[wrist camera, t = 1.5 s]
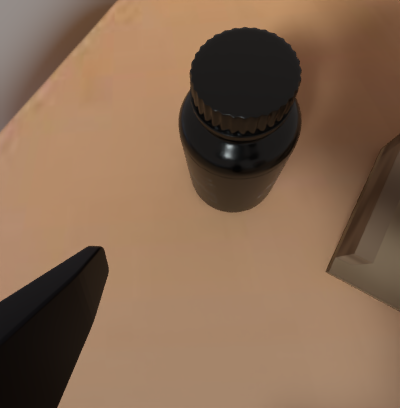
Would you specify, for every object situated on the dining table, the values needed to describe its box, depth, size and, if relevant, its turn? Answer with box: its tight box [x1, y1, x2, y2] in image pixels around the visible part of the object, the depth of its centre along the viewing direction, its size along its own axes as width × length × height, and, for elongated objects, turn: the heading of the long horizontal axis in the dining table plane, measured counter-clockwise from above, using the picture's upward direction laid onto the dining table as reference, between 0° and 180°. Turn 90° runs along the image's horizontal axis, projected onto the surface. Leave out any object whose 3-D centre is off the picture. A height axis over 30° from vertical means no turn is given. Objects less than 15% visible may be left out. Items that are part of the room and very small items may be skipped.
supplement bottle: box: [179, 27, 302, 212], centre depth 17 cm, size 7×7×12 cm
